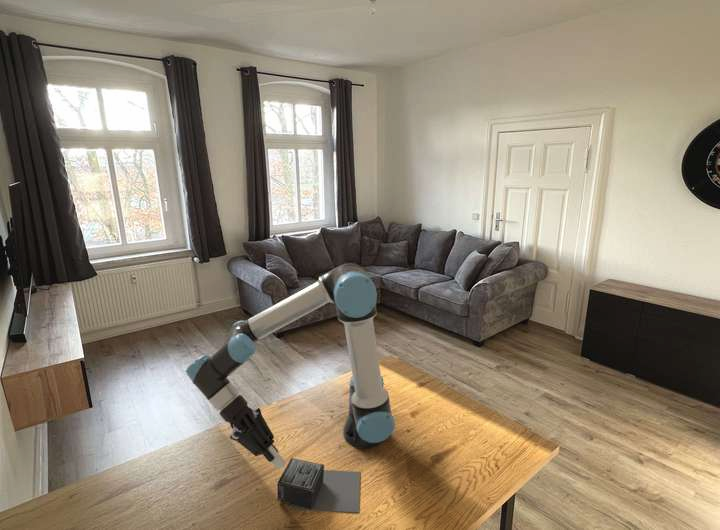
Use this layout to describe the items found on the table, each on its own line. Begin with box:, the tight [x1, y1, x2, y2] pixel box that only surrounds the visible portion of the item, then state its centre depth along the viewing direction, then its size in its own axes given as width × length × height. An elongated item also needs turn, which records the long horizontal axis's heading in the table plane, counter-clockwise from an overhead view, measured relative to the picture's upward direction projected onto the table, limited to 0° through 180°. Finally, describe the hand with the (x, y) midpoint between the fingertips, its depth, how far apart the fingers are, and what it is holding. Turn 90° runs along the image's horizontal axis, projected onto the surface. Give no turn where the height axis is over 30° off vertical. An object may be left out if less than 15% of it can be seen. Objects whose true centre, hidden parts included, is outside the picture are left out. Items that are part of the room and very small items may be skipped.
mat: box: [289, 469, 361, 514], centre depth 114 cm, size 19×15×1 cm
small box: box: [277, 457, 325, 509], centre depth 112 cm, size 11×6×10 cm
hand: (282, 466), depth 111 cm, fingers closed
